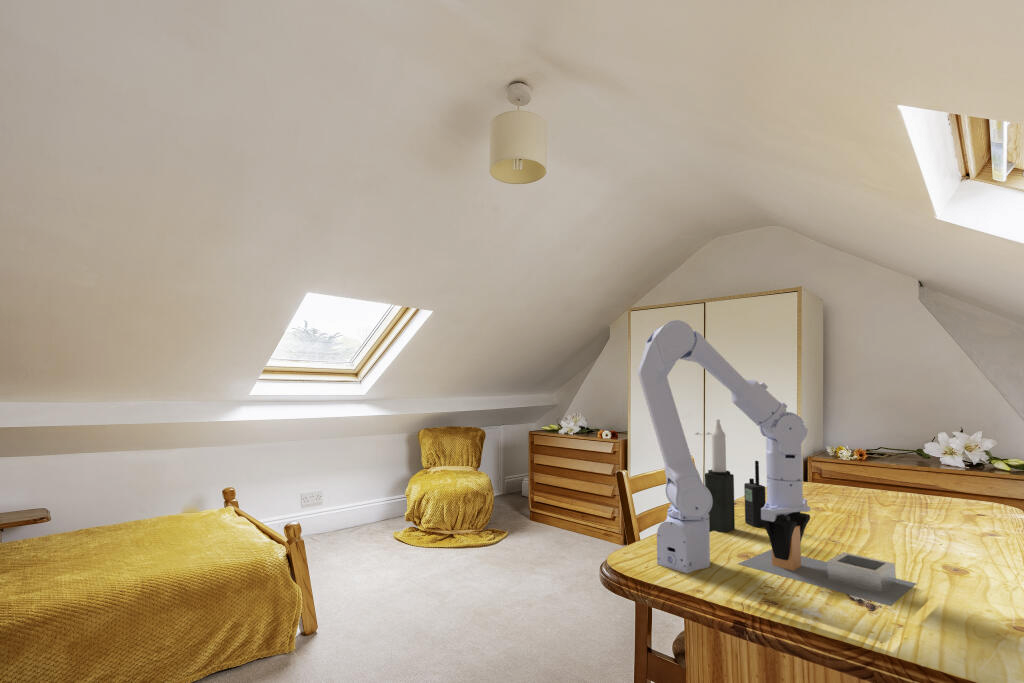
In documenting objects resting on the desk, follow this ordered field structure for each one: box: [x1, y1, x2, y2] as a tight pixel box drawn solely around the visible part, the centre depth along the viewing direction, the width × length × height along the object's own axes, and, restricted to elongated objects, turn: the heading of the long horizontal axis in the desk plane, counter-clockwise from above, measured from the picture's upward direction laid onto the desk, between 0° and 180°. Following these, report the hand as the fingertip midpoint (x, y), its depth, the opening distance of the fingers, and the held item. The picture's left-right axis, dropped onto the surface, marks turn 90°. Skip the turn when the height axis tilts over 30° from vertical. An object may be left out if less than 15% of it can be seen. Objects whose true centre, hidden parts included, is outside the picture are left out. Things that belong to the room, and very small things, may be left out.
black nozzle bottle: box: [704, 418, 736, 534], centre depth 119 cm, size 5×5×25 cm
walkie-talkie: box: [743, 460, 766, 528], centre depth 126 cm, size 5×3×15 cm
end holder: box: [826, 551, 897, 594], centre depth 87 cm, size 8×8×3 cm
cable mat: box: [737, 548, 917, 607], centre depth 91 cm, size 14×23×1 cm, turn 40°
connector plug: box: [771, 515, 802, 570], centre depth 95 cm, size 4×4×9 cm
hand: (786, 556), depth 94 cm, fingers closed on connector plug, 3 cm apart
